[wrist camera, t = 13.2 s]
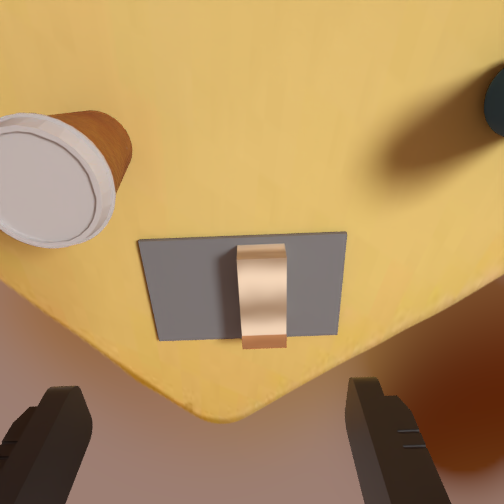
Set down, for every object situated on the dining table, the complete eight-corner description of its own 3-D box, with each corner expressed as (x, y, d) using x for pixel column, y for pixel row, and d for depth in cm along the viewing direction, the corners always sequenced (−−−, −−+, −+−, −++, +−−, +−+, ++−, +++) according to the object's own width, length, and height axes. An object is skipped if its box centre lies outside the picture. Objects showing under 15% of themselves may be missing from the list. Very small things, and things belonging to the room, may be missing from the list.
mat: (160, 338, 47) (159, 341, 47) (139, 239, 40) (138, 241, 40) (336, 332, 47) (337, 334, 47) (346, 231, 40) (347, 233, 40)
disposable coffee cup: (108, 70, 32) (41, 87, 22) (169, 167, 37) (137, 221, 26) (22, 122, 34) (-76, 160, 24) (90, 208, 39) (31, 273, 28)
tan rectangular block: (237, 245, 40) (236, 259, 38) (284, 243, 40) (287, 257, 38) (242, 331, 46) (242, 349, 44) (284, 329, 46) (286, 347, 43)
